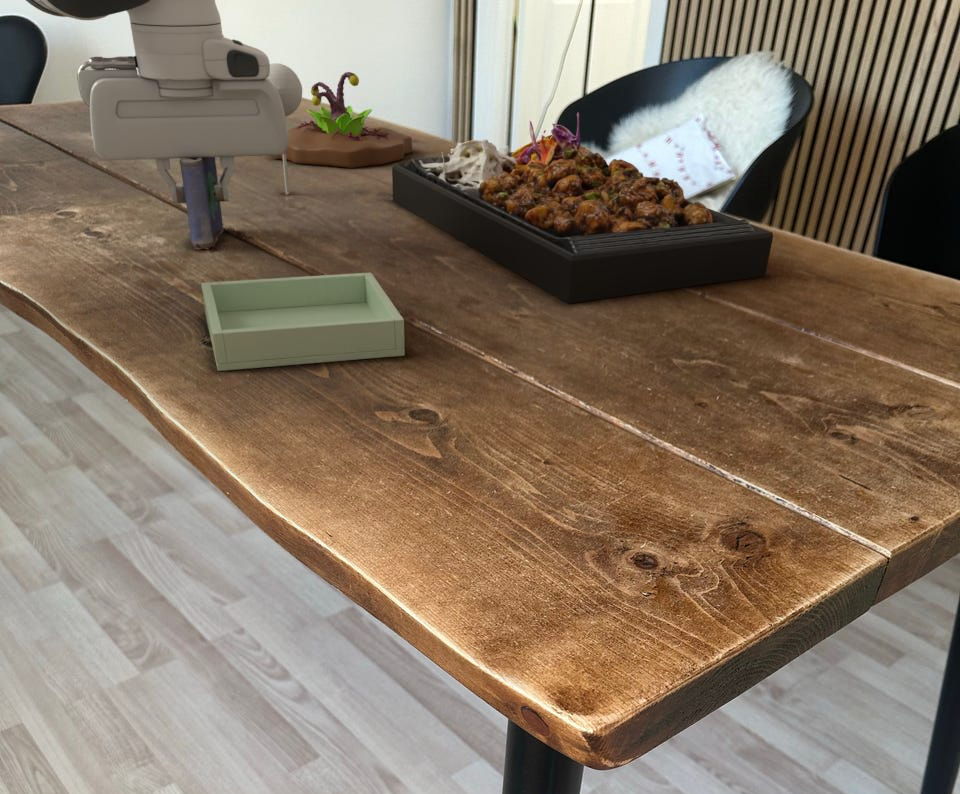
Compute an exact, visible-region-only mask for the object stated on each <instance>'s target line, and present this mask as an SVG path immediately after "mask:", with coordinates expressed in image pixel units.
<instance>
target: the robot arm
mask: <svg viewBox="0 0 960 794" xmlns="http://www.w3.org/2000/svg"><path fill="white" fill-rule="evenodd" d="M25 1H26V2H27V3H28V4H30V5H31V6H32V7H34V8H35V9H37V10H39V11H41V12H43V13H45V14H48V15H51V16H53V17H54V16H55V17H62V18H70V19H74V20H79V21H95V20H101V19H104V18H106V17H108V16H111V15H115V14H119V13H123V12H127V14H128V17H129V24H130V30H131V36H132V43H133V48H134V54H135V55H129V56H113V57H103V56H91V57H89V59H88V60H89V61H86V62H84V63H83V64H81V65H80V66H79V68H78V70H77V73H76V80H77V84H78V90H79V95H80V97H81V99H82V101H83V102H84V103H85V105H86V106H87V107H88V108H89V119H90V120H89V121H90V131H91V138H92V144H93V150H94V152H95V154H96V155H97V156H98V157H100V159H102V160H104V161H133V160H135V161H136V160H138V161H139V160H155V164H156V170H157V172H158V173H159V175H160V176H161V178H162V179H163V180H164V181H165V183H166V184H167V186H168V187H169V188H170V192H171V198H172V204H173V205H175V204H176V205H177V204H186V199H185V194H184V186H183V182H176V180H175V179H174V178H173V176H172V175H171V174H170V172H169V170H171V162H170V160H171V159H181V158H199V157H202V158H203V157H215V158H219V161H220V162H219V163H220V165H221V168H223V171H222V173H221V175H220V179H219V180H218V182H212V184H213V190H214V198H215V202H220V203H222V202H223V203H224V202H229V201H230V200H229V198H230V197H229V191H228V185H229V183H230V181H231V178H232V176H233V174H234V171H235V169H236V164H235V157H263V156H265V157H266V156H274V155H283V154H284V153H285V151H286V150H287V148H288V146H289V137H288V124H287V119H286V117H285V113H284V109H283V105H282V101H281V98H280V95H279V93H278V91H277V89H276V88H275V86H274V85H273V83H272V82H271V81H270V80H269V79H268V78H267V77H268V76H269V73H270V64H271V62H270V59H269V56H268V55H267V54H266V52H264V51H262V50H261V49H259V48H257V47H254V46H251V45H248V44H245V43H243V42H242V41H240V40H237V39H234V38H233V39H231V38H227V37H225V36H224V34H223V28H222V19H221V15H220V12H219V10H218V6H217V4H216V0H25ZM88 67H90V69H87V68H88Z"/></svg>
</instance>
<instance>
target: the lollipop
mask: <svg viewBox="0 0 960 794" xmlns="http://www.w3.org/2000/svg"><path fill="white" fill-rule="evenodd" d="M267 78H268V79H269V80H270V81H271V82H272V83H273V85H274V86H275V88H276V89H277V91H278V93H279V95H280V98H281V101H282V105H283V109H284V113H285V118H286V117H288V116H291V115H292V114H294V113H295V112H296V111H297V110H298V108H299V107H300V105H301V102H302V98H303V85H302V83H301V80H300V78H299V76H298V74H297V73H296V72H295V71H294V70H293V69H292V68H290V67H289V66H288V65H286V64H282V63H277V62H273V63H270V73H269V76H268V77H267ZM282 156H283V159H282V165H283V166H282V167H283V176H284V187H285V195H290V185H289V173H288V160H286V151H285V153H284V154H283V155H282Z"/></svg>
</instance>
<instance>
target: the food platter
mask: <svg viewBox="0 0 960 794" xmlns="http://www.w3.org/2000/svg"><path fill="white" fill-rule="evenodd" d="M576 117H577V118H576V119H577V123H576V124H577V125H576V134H575V135H574V134H573V133H572V131H570V130H569V128H567V127H566V126H564V125H561V124H556V123H551V125H552V126H553V128H552V129H551V130H550V133H551V134H550V135H546V136H545V135H544V134H545V133H546V129H544V131H543V134H541V139H539V140H536V139H537V138H536V135H535V130H534V126H533V122H532V121H531V120H529V122H528V123H529V135H530V139H531V142H529V143H526V144H525V145H523V146H522V147H520V148H517V149H516V150H514V151H511V152H510V147H509V145H505V147H501V148H498V149H497V146H496V145H495V144H493V142H489V140H488V139H482V140H478V139H473V140H468V141H465V142H457V144H456V147H455V148H451V149H449V151H450V153H448V154H447V156H444V152H443V151H441V156H433V157H431V156H430V157H414V158H412V159H410V161H408V162H399V163H393V164H392V166H391V174H392V175H391V177H392V178H391V180H392V182H391V183H392V202H393V203H394V204H397V205H398V206H400V207H402V208H403V209H405V210H407V211H409V212H411V213H412V214H413V215H416V216H417V217H419V218H421V219H423V220H424V221H426V222H428V223H430V224H431V225H433V226H435V227H436V228H438V229H440V230H442V231H443V232H445V233H446V234H448V235H450V236H452V237H453V238H454V239H457V240H458V241H460V242H462V243H464V244H465V245H467V246H469V247H470V248H473V249H474V250H476V251H477V252H479V253H481V254H483V255H484V256H486V257H488V258H490V259H491V260H493V261H495V262H496V263H498V264H500V265H501V266H503V267H505V268H507V269H508V270H510V271H511V272H513V273H514V274H517V275H519V276H520V277H522V278H524V279H525V280H527V281H529V282H530V283H532V284H534V285H536V286H538V287H539V288H541V289H542V290H544V291H546V292H548V293H550V294H551V295H553V296H554V297H556V298H558V299H560V300H561V301H562V302H565V303H567V304H574V303H575V304H576V303H581V302H590V301H596V300H604V299H611V298H617V297H618V298H619V297H625V296H631V295H632V296H633V295H640V294H646V293H653V292H662V291H668V290H676V289H682V288H689V287H690V288H691V287H696V286H703V285H711V284H717V283H726V282H734V281H739V280H740V281H741V280H747V279H754V278H762V277H766V275H767V269H768V265H769V259H770V255H771V249H772V244H773V238H774V234H773V232H772V231H770V230H767V229H765V228H762V227H760V226H756V225H754V224H751V223H750V222H749V221H748V219H745V218H744V219H737V218H735V217H733V216H730V215H727V214H725V213H721V212H718V211H716V210H713V209H711V208H708V207H707V206H706V205H705V204H704V203H702V202H701V201H695V202H692V201H690V200H688V199H687V198H685V194H684V189H683V187H681V185H680V184H679V183H678V181H674V180H675V179H674V178H673V179H669V178H667V177H662V178H660V177H656V176H655V177H654V176H644V173H643V172H641V171H639V169H638V167H636V166H635V165H634V163H633V164H632V163H631V162H628V161H626V160H624V159H616V158H613V159H612V160H611V161H610V162H609V164H608V163H607V160H606V159H604V157H603V156H602V155H601V154H600V153H599V152H592V151H590V150H589V149H587V148H586V147H585V146H582V144H581V140H582V139H583V137H581V131H580V112H579V111H577V113H576Z"/></svg>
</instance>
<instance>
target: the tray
mask: <svg viewBox="0 0 960 794" xmlns="http://www.w3.org/2000/svg"><path fill="white" fill-rule="evenodd" d="M200 284H201V291H202V298H203V306H204V313H205V318H206V323H207V328H208V332H209V336H210V343H211V346H212V350H213V356H214V361H215V365H216V369H217V372H224V371H234V370H247V369H258V368H261V369H262V368H269V367H270V368H271V367H284V366H285V367H286V366H295V365H296V366H297V365H307V364H318V363H319V364H320V363H331V362H343V361H356V360H369V359H381V358H391V357H392V358H393V357H403V356H405V355H406V351H405V347H406V346H405V319H404V318H403V317H402V315H401V314H400V311H398V309H397V308H396V306H395V305H394V304H393V302H392V300H391V299H390V297H389V296H388V295H387V293H386V292H385V290H384V289H383V288H382V286H381V284H380V283H379V282H378V280H377V278H376V277H375V276H374V274H373V273H372V272H359V273H358V272H357V273H355V272H354V273H341V274H339V273H338V274H325V275H324V274H323V275H307V276H306V275H305V276H293V277H275V278H274V277H273V278H257V279H242V280H226V281H211V282H210V281H209V282H201V283H200Z"/></svg>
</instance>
